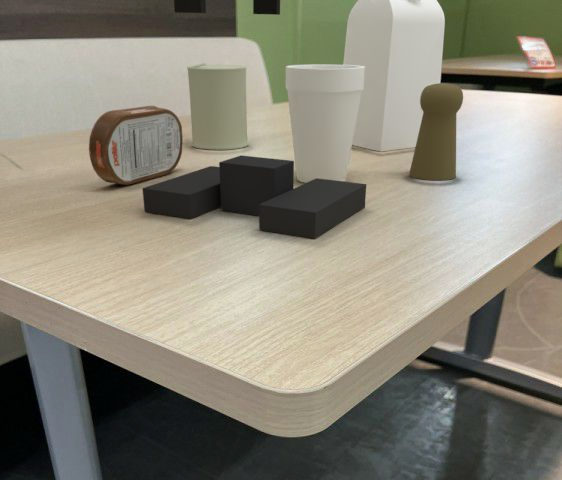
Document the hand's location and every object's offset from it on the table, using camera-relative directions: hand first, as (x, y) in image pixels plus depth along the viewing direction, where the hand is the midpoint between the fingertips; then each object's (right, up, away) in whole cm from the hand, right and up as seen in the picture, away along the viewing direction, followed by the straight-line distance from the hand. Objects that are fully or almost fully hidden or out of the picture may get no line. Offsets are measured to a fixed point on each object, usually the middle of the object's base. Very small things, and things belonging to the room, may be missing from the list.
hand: (231, 14), depth 59 cm
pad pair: (+2, -16, +9) cm, 18 cm away
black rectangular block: (+2, -16, +9) cm, 18 cm away
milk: (+22, +5, +46) cm, 51 cm away
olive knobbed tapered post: (+25, -8, +24) cm, 35 cm away
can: (-5, +4, +44) cm, 44 cm away
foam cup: (+10, -9, +22) cm, 26 cm away
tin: (-13, -9, +22) cm, 27 cm away
